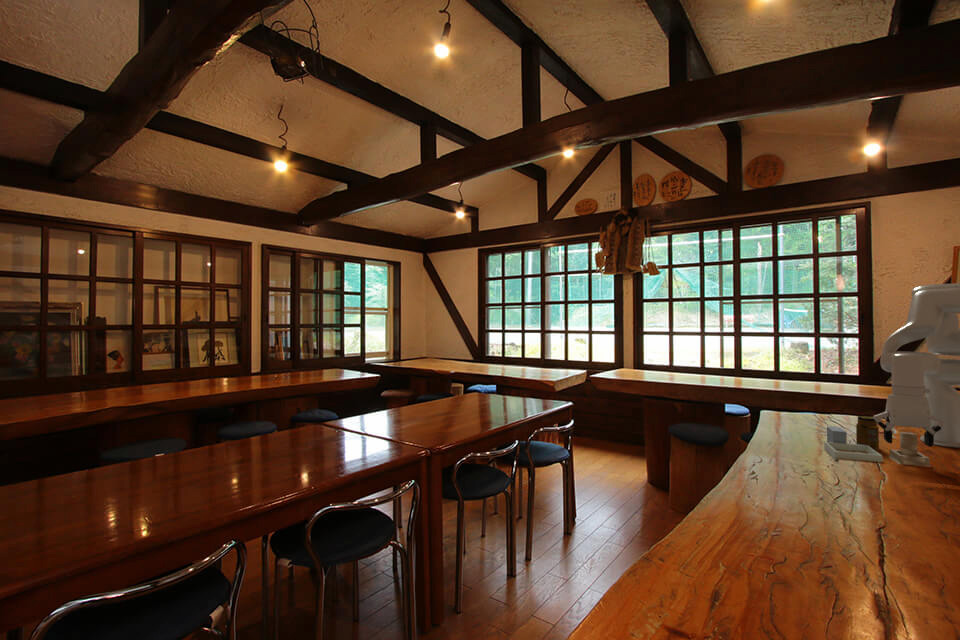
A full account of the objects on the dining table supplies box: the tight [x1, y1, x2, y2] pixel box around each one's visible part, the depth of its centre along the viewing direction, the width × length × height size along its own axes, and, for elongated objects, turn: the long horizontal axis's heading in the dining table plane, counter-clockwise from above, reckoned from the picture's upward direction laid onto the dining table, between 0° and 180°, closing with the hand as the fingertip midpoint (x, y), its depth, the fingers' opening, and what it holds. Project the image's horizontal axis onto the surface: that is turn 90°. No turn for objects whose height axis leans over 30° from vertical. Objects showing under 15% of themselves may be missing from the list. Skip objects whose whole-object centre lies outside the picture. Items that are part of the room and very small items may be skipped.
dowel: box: [899, 431, 919, 457], centre depth 141 cm, size 4×4×9 cm
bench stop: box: [826, 425, 848, 444], centre depth 160 cm, size 4×7×7 cm, turn 155°
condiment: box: [855, 415, 880, 451], centre depth 156 cm, size 7×8×12 cm
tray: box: [823, 441, 884, 463], centre depth 150 cm, size 12×12×3 cm
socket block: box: [887, 449, 932, 468], centre depth 141 cm, size 8×8×4 cm
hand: (908, 444), depth 141 cm, fingers open, 9 cm apart
